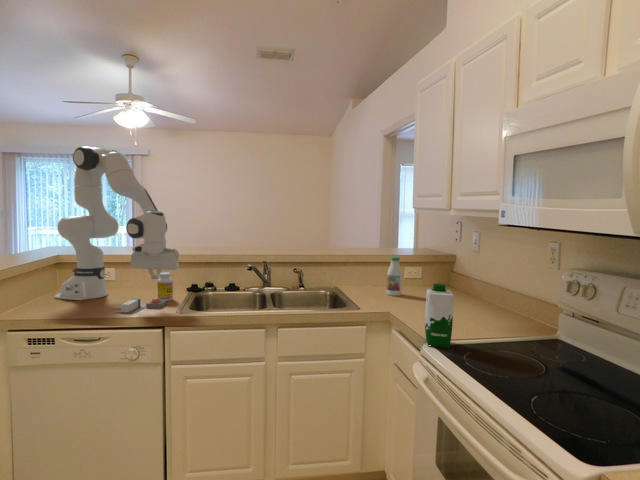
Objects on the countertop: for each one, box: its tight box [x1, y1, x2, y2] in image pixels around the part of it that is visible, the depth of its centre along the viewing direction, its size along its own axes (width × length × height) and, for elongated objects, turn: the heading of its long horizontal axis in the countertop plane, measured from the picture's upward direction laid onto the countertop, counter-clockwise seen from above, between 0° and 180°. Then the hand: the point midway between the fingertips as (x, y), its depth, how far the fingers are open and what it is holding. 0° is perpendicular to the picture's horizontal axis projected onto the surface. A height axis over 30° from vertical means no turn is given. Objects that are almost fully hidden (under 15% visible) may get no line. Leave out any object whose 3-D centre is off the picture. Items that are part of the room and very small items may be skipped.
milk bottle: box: [386, 256, 403, 297], centre depth 206 cm, size 8×8×20 cm
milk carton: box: [424, 283, 454, 349], centre depth 132 cm, size 9×9×20 cm
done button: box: [151, 297, 160, 303], centre depth 173 cm, size 3×3×3 cm
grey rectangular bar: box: [121, 298, 141, 312], centre depth 167 cm, size 10×3×3 cm, turn 179°
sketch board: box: [115, 305, 146, 314], centre depth 167 cm, size 8×11×1 cm
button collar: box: [145, 300, 167, 309], centre depth 173 cm, size 6×6×2 cm
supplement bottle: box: [157, 272, 174, 302], centre depth 184 cm, size 7×7×13 cm
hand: (155, 278), depth 172 cm, fingers closed
